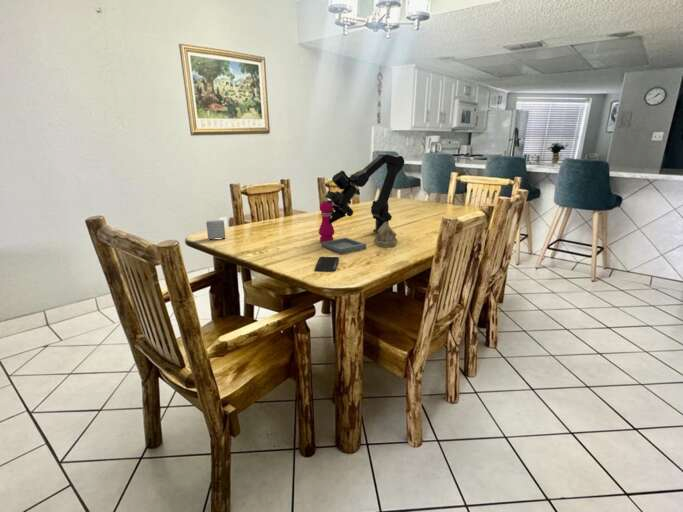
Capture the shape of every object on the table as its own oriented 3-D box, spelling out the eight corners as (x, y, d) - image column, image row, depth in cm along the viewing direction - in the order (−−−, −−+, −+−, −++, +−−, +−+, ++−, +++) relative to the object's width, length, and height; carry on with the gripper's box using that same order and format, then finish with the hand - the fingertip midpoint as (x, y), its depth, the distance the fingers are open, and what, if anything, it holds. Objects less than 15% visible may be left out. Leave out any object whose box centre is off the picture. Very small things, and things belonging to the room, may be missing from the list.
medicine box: (225, 237, 177) (223, 219, 174) (225, 239, 173) (223, 221, 170) (208, 238, 175) (206, 220, 172) (208, 240, 171) (206, 222, 168)
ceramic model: (372, 239, 174) (373, 218, 170) (395, 239, 174) (396, 218, 171) (375, 247, 160) (376, 225, 157) (400, 247, 160) (401, 225, 157)
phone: (339, 257, 144) (335, 269, 129) (339, 259, 144) (335, 272, 130) (319, 256, 144) (313, 269, 130) (319, 259, 145) (313, 272, 130)
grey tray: (321, 247, 160) (321, 242, 159) (345, 241, 168) (345, 237, 168) (340, 254, 149) (340, 249, 149) (365, 248, 158) (366, 243, 157)
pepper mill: (332, 243, 166) (332, 199, 160) (317, 242, 167) (316, 199, 161) (335, 239, 173) (335, 197, 167) (321, 238, 174) (320, 196, 168)
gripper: (325, 182, 172) (305, 208, 170) (347, 186, 158) (327, 214, 155) (338, 197, 179) (320, 222, 176) (361, 202, 164) (342, 229, 162)
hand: (326, 221), depth 167 cm, fingers closed on pepper mill, 5 cm apart
